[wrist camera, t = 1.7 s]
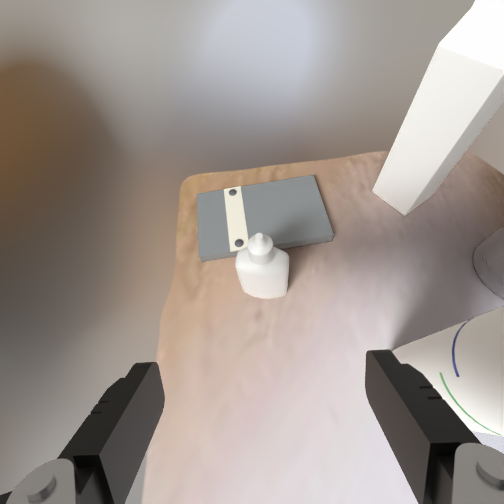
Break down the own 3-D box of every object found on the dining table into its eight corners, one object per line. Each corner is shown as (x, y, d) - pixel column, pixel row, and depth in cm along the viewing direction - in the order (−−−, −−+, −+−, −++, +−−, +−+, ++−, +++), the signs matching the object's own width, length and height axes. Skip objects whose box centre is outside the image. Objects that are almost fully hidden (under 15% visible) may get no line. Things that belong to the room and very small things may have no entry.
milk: (404, 217, 37) (543, 19, 17) (370, 191, 39) (458, -5, 20) (433, 195, 38) (592, -12, 19) (398, 171, 41) (507, -31, 21)
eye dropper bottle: (257, 262, 35) (247, 206, 25) (293, 284, 33) (299, 232, 23) (237, 288, 34) (218, 239, 23) (274, 312, 32) (272, 271, 21)
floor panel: (312, 181, 41) (313, 173, 40) (331, 240, 36) (334, 234, 34) (199, 200, 41) (196, 193, 40) (201, 261, 36) (198, 255, 34)
